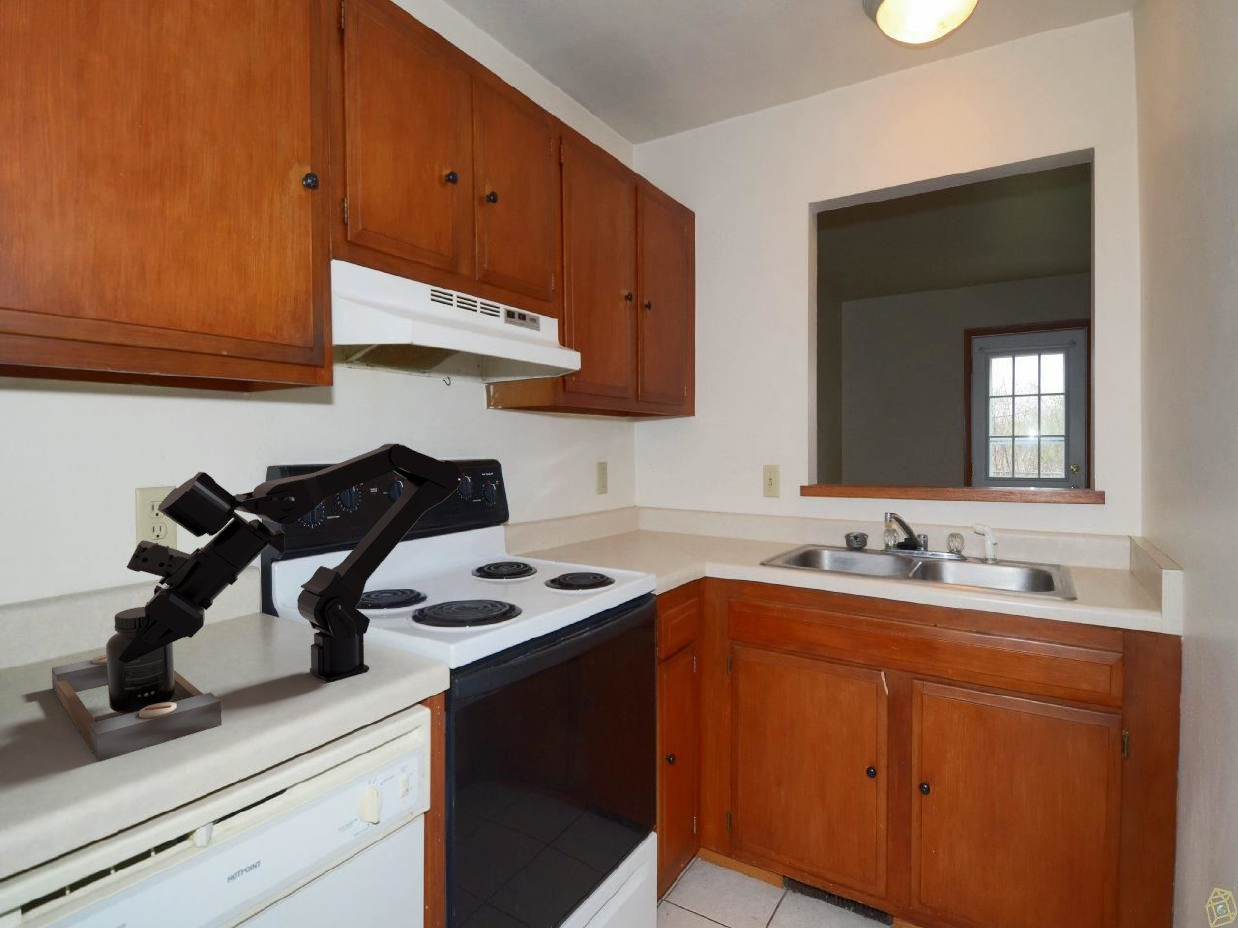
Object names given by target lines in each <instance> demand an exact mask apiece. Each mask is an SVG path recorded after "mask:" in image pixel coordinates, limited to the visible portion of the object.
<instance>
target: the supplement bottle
mask: <svg viewBox="0 0 1238 928" xmlns="http://www.w3.org/2000/svg"><path fill="white" fill-rule="evenodd" d="M144 607H145V606H138V607H133V608H128V609H125V610H122V611H119V612H117V613H116V614H115V615H114V625H113V627H114V632H116V633H115V634H113V635H112V636H111V637H109V639H108V640H107V642H106V645H105V655H106V658H107V676H108V685H107V690H108V691H107V692H108V704H109V708H110V709H111V710H112V711H113V712H116V713H119V714H129V713H133V712H137V711H140V710H141V709H143V708H145V707H147V706H150V705H153V704H158V703H164V702H170V700H172V698H173V697H174V696H175V682H174V670H175V664H174V642H172V643H170V644H167V645H165V646H163V647H161V648H159V649H156V650H154V651H152V652H150V653H148V654H146V655H144V656H141V657H139V658H137V659H135V660H133V661H131V662H129V663H124V662H122V661H120V660H119V657H120V655H121V654H122V653H123V651H124V650H125V649H126V647H127V646H128V644H129V643H130V642H131V640H132V639H133V638H134V636H135V635H136V634H137V632H138V631H139V630H140V628H141V627H142V626H143V624H144V623H145V622H146V619H145V612H144Z"/></svg>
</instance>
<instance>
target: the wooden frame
mask: <svg viewBox="0 0 1238 928" xmlns="http://www.w3.org/2000/svg"><path fill="white" fill-rule="evenodd" d="M51 682H52V685H51V686H52V691H53V692H54V693H55V695H56V696H57V698H58V700H59V701H60V704H61V705H62V706H63V708H64V709H65V711H66V713H67V714H68V715H69V718H70V719H71V720H72V722H73V723H74V726H75V727H76V728H77V730H78V732H79V733H80V735H81V736H82V738H83V740H84V741H85V742H86V743H85V744H87V746H88V748H89V749H90V751H91V753H92V754H93V755H94V757H95V759H96V760H97V762H100V761H103V760H104V761H105V760H107V759H111V758H114V757H117V756H121V755H125V754H127V753H130V752H135V751H137V750H138V751H139V750H142V749H145V748H148V747H151V746H154V745H158V744H160V743H165V742H168V741H170V740H171V741H172V740H175V739H178V738H181V737H185V736H188V735H191V734H195V733H198V732H201V731H205V730H207V729H208V728H209V729H212V728H215V726H216V727H218V725H219V726H222V700H221V699H219V697H217V696H215V694H213V693H212V692H207V693H206V692H205V693H203V692H202V691H200V690H199V689H198V688H197V687H196V686H194V685H193V684H192V683H190V682H189V681H188V680H187V679H186V678H185V677H184V676H182V675H181V673H179V672H178V671H176V670H175V669H174V682H175V693H174V695H175V696H177V697H179V698H180V699H179V700H176V701H173V702H171V701H168V702H164V703H158V704H153V705H150V706H147V707H145V708H143V709H141V710H140V711H137V712H133V713H124V714H123V715H122V714H121V715H118V716H115V717H110V718H106V719H103V720H99V721H96V720H95V718H94V717H93V715H92V713H91V712H90V711H89V710H88V709H87V707H86V705H85V704H84V703H83V701H82V700H81V697H79V696H78V694H77V693H76V692H82V691H85V690H90V689H94V688H98V687H103V686H108V676H107V658H106V654H102V655H99V656H95V657H93V658H92V659H87V660H83V661H78V662H73V663H68V664H63V665H59V666H58V665H57V666H54V667H53V666H52V667H51ZM209 729H208V730H209Z"/></svg>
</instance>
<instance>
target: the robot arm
mask: <svg viewBox="0 0 1238 928" xmlns="http://www.w3.org/2000/svg"><path fill="white" fill-rule="evenodd" d="M392 471H393V472H394V473H396V474H397V475H398V476H400V477H402V478H404V479H405V480H404V482H403V483H404V484H403V487H402V490H401V494H400V495H399V497H398V498H397V499H396V500H395V502H394V503H393V504H392V505H391V507H390V508H389V509H387V511H386V512H385V513H384V514H383V515H382V517H381V518H380V519H379V520H378V521H377V522H376V523H375V524H374V526H373V527H372V528H371V529H370V530H369V531H368V532H367V534H366V535H364V537H363V538H362V539H361V540H360V541H359V543H358V544H357V545H356V546H355V547H354V548H353V549H352V551H350V552H349V554H348V555H347V556H346V557H345V559H343V561H341V562H340V563H339V564H338V565H336V566H334V567H332V568H329V567H326V566H323V565H320V566H319V567H317V569H316V570H315V572H314V573H313V574H312V577H311V578H310V579H309V580H308V581H306V582H305V583H303V584H301V585H300V588H301V589H302V590H301V592H300V593H299V594H298V595H297V596H298V597H297V599H296V600H297V611H298V613H299V614H300V616H301V617H302V618H303V619H305V620H307V621H308V622H309V624H310V626H311V629H313V630H316V631H318V632H314V633H313V644H311V645H310V668H309V672H310V673H312V674H314V675H315V676H317V677H318V678H320V679H323V680H324V681H327V682H331V681H334V680H339V679H342V678H345V677H346V678H347V677H349V676H353V675H356V674H360V673H363V672H366V671H369V670H370V666H369V665H367V664H366V663H365V647H364V646H365V645H364V643H365V642H364V639H365V637H364V635H365V634H367V632H368V628H369V626H370V622H371V619H370V618H369V617H367V616H366V615H365V614H364V613H363V612H362V611H360V610H359V609H357V607H358V605H359V603H360V602H361V600H362V597H363V594H364V590H365V587H366V583H367V582H368V580H369V579H370V578H371V576H372V575H373V574H374V573H375V571H377V570H378V568H379V567H380V566H381V564H383V562H384V561H385V560H386V558H387V557H388V556H389V555H390V554H391V553H392V551H394V550H395V548H396V546H398V545H399V543H400V542H402V541H401V540H403V538H404V537H405V536H406V535H407V534H408V533H409V531H410V530H411V529H412V528H413V527H414V525H415V524H416V523H417V522H418V520H419V519H421V517H422V516H423V515H424V514H425V513H426V512H427V511H429V510H430V509H433V508H434V507H436V506H437V505H439V504H441V503H443V502H444V501H445V500H447V499H448V498H449V497H450V496H452V495H453V493H455V492H456V491H457V490H458V489H459V487H460V485H461V483H462V479H461V472H460V468H459V467H458V465H457V464H456V463H454V462H453V461H451V460H448V459H446V460H443V459H438V458H435V457H432V456H430V455H428V454H424V453H421V452H419V451H417V450H414V449H412V448H410V447H408V446H407V445H404V444H402V443H384V444H383V445H381V446H380V447H378V448H376V449H372V450H370V451H367V452H365V453H362V454H359V455H357V456H355V457H352V458H348V459H347V460H344V461H341V462H339V463H337V464H333V465H331V466H328V467H325V468H324V469H321V470H318V471H316V472H312V473H308V474H307V473H306V474H303V475H302V474H301V475H294V476H289V477H288V476H287V477H283V478H278V479H273V480H268V481H264V482H261V483H260V484H259V485H257V486H256V487H255V488H254V489H253V490H252V491H249V492H244V493H240V494H238V493H236V494H235V495H234V494H232V493H230V492H229V491H228V490H226V489H225V488H224V487H222V486H221V485H220V484H219V483H217V482H216V481H215V479H214V478H213V477H212V476H210V475H209V474H208V473H207V472H204V471H198V472H197V473H196V474H195V475H194V476H193V477H191V478H189V479H188V480H186V481H184V482H183V483H182V484H181V485H179V487H175V488H173V489H172V490H171V491H170V492H169V493H168V494H167V495H166V497H165V498H163V500H162V501H161V502H160V503H159V505H158V508H157V510H158V511H159V512H160V513H161V514H162V515H164V516H166V517H167V518H169V519H170V520H171V521H173V522H174V523H176V524H177V525H178V526H180V527H182V528H183V529H184V530H186V531H187V532H189V533H190V534H192V535H193V536H194V537H196V538H201V537H202V536H204V535H206V534H207V535H208V536H209V537H213V536H214V537H213V538H212V539H211V540H210V541H208V542H207V543H206V544H205V545H204V546H202V547H200V548H199V547H197V548H196V549H195V550H193V551H192V553H188V552H184V551H181V550H178V549H175V548H173V547H170V545H166V546H165V545H162V544H159V542H151V541H149V540H140V542H139V543H138V544H137V546H136V548H135V550H134V551H133V554H132V555H131V558H130V560H129V561H128V564H127V565H126V568H127V569H128V570H130V571H134V572H136V573H139V572H144V573H147V574H151V575H153V576H154V575H155V576H159V577H161V578H160V579H159V581H158V584H160V585H161V586H160V585H158V584H157V585H156V586H155V587H154V590H153V596H152V597H151V599H150V600H149V601H147V602H146V603H145V605H144V606H143V607H144V612H145V619H146V622H145V623H144V624H143V626H142V627H141V628H140V630H139V631H138V632H137V634H136V635H135V636H134V638H133V639H132V640H131V642H130V643H129V644H128V646H127V647H126V649H125V650H124V651H123V653H122V654H121V655H120V657H119V660H120V661H122V662H124V663H129V662H131V661H133V660H135V659H137V658H139V657H141V656H144V655H146V654H148V653H150V652H152V651H154V650H156V649H159V648H161V647H163V646H165V645H167V644H170V643H172V642H173V643H174V642H177V641H179V640H181V639H185V638H190V639H191V638H193V637H194V636H195V635H196V634H197V633H198V631H200V630H201V629H202V628H203V627H204V626H205V621H206V619H205V617H206V616H205V615H206V614H205V611H208V609H209V608H210V607H211V606H212V605H213V604H214V600H215V599H216V598H217V597H218V596H220V594H221V593H222V592H223V591H225V589H227V588H228V586H229V585H231V586H233V584H235V583H236V582H237V580H238V579H239V576H240V574H242V573H243V572H244V571H245V570H246V569H247V568H248V566H250V565H251V564H252V563H253V562H254V560H256V559H257V558H258V557H259V556H260V555H261V554H262V553H263V552H264V551H265V550H267V548H268V547H269V546H270V547H272V548H273V549H274V550H276V551H277V552H279V553H280V554H283V553H285V552H286V546H285V538H286V535H287V534H286V532H285V531H283V529H276V530H275V529H271V528H270V527H269V526H267V525H266V524H265V523H263V522H262V521H261V520H264V521H266V522H271V523H275V524H282V525H289V524H292V523H295V522H297V521H298V520H300V519H302V518H303V517H305V516H306V515H308V514H311V512H313V511H315V510H316V509H317V508H318V507H319V506H321V505H322V504H323V503H324V502H325V501H326V500H327V499H329V498H331V497H332V496H335V495H338V494H340V493H342V492H345V491H347V490H351V489H352V488H354V487H356V486H360V485H362V484H364V483H365V482H368V481H369V482H370V481H371V480H373V479H376V478H378V477H381V476H383V475H387V474H388V473H390V472H392ZM236 511H238V512H242V513H248V514H252V515H255V516H257V517H258V518H259V519H261V520H259V519H258V518H255V519H251V520H249V521H248V520H247V519H246V518H244V517H242V516H241V515H240V514H238V513H237V512H236ZM165 584H166V585H165ZM164 585H165V586H164ZM162 586H164V587H162Z"/></svg>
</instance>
